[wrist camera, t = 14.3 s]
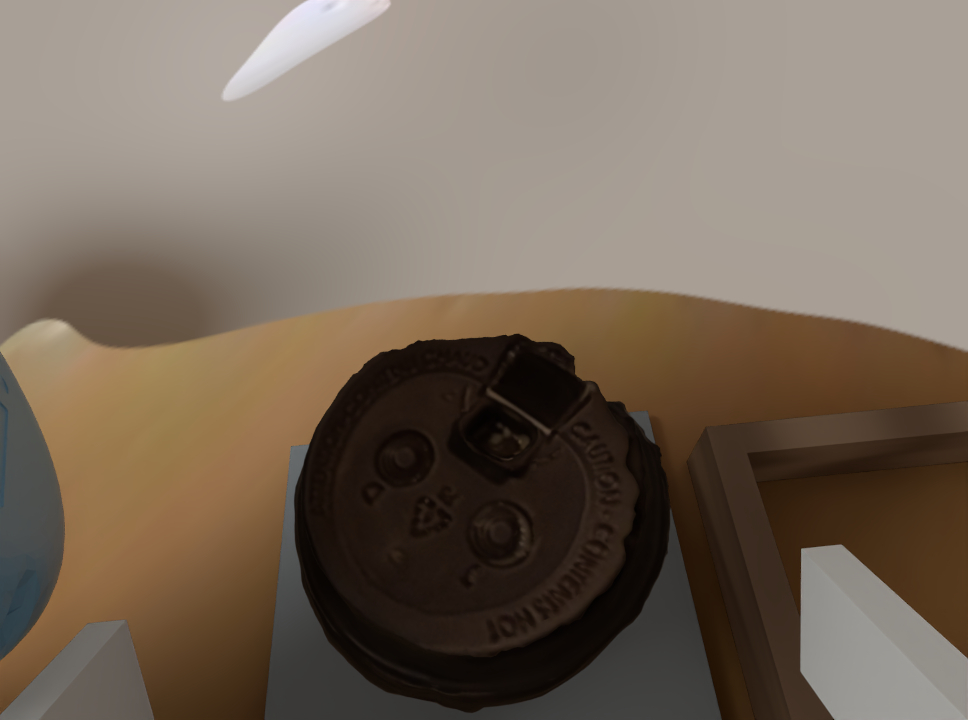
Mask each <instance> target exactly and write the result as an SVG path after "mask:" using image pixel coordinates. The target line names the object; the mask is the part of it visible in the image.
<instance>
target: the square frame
mask: <svg viewBox="0 0 968 720" xmlns="http://www.w3.org/2000/svg"><path fill="white" fill-rule="evenodd" d="M958 462H968V401H962V402H952V403H942V404H931V405H921V406H911V407H901V408H891V409H881V410H871V411H861V412H851V413H841V414H831V415H821V416H811V417H801V418H791V419H780V420H770V421H760V422H750V423H740V424H730V425H720V426H710V427H706V428H705V430H704V431H703V433H702V435H701V437H700V439H699V440H698V442H697V444H696V446H695V448H694V449H693V451H692V453H691V455H690V457H689V459H688V460H687V464H688V467H689V471H690V475H691V479H692V483H693V486H694V490H695V494H696V498H697V501H698V505H699V509H700V513H701V517H702V520H703V524H704V528H705V532H706V535H707V539H708V543H709V547H710V550H711V554H712V558H713V562H714V566H715V569H716V573H717V577H718V581H719V584H720V588H721V592H722V596H723V599H724V603H725V607H726V611H727V615H728V618H729V622H730V626H731V630H732V633H733V637H734V641H735V645H736V649H737V652H738V656H739V660H740V664H741V667H742V671H743V675H744V679H745V682H746V686H747V690H748V694H749V698H750V701H751V705H752V709H753V713H754V716H755V720H833V718H832V715H831V714H830V713H829V711H828V710H827V708H826V707H825V705H824V704H823V703H822V701H821V700H820V698H819V697H818V696H817V694H816V693H815V691H814V690H813V688H812V687H811V686H810V684H809V683H808V681H807V680H806V679H805V677H804V676H803V674H802V673H801V672H800V654H801V619H800V616H799V613H798V610H797V607H796V604H795V601H794V598H793V594H792V591H791V588H790V585H789V582H788V579H787V576H786V573H785V570H784V567H783V563H782V560H781V557H780V554H779V551H778V548H777V545H776V542H775V539H774V535H773V532H772V529H771V526H770V523H769V520H768V517H767V514H766V511H765V508H764V504H763V501H762V498H761V495H760V492H759V489H758V486H757V483H756V482H762V481H772V480H783V479H793V478H803V477H813V476H824V475H834V474H844V473H855V472H865V471H875V470H886V469H896V468H906V467H917V466H927V465H937V464H947V463H958Z"/></svg>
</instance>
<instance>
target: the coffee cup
mask: <svg viewBox="0 0 968 720" xmlns="http://www.w3.org/2000/svg"><path fill="white" fill-rule="evenodd" d="M574 360H575V358H574V356H572V355H571V354H569V352H568V351H567V350H566V349H565V348H564V347H562V346H561V345H560V344H557V343H553V342H535V341H532V340H530V339H529V338H527V337H525V336H523V335H520V334H514V335H511V336H507V335H502V336H497V337H482V338H467V339H458V340H435V339H433V340H426V341H420V340H418V341H416V342H415V343H413V344H410V345H408V346H407V347H406V348H404V349H401V350H397V349H394V350H390V351H388V352H381V353H379V354H378V355H376V356H375V357H373V358H372V359H371V360H369V361H368V362H367V363H365V364H364V366H363V368H362V369H361V370H360V371H359V372H358V373H356V374H353V375H352V377H351V378H350V379H349V380H348V382H347V383H346V384H345V385H344V387H343V388H342V389H341V390H340V391H339V393H338V394H337V396H336V398H335V400H334V401H333V403H332V404H331V406H330V407H329V408H328V410H327V411H326V413H325V414H324V416H323V418H322V419H321V421H320V422H319V424H318V426H317V427H316V429H315V432H314V434H313V437H312V439H311V442H310V445H309V447H308V450H307V453H306V456H305V459H304V464H303V467H302V470H301V473H300V476H299V478H298V481H297V484H296V487H295V494H294V511H295V523H294V532H295V546H296V551H297V555H298V559H299V563H300V569H301V581H302V585H303V588H304V591H305V593H306V596H307V598H308V600H309V603H310V606H311V607H312V609H313V611H314V614H315V616H316V618H317V620H318V621H319V623H320V625H321V627H322V629H323V632H324V634H325V636H326V638H327V640H328V642H329V643H330V644H331V645H332V646H333V647H334V648H335V649H336V650H337V651H338V652H339V653H340V654H341V655H342V656H343V657H344V658H345V659H346V661H347V662H348V663H349V664H350V665H351V666H352V667H354V668H355V669H356V670H357V671H358V672H359V673H360V674H361V675H362V676H363V677H364V678H365V679H366V680H367V681H369V682H370V683H372V684H373V685H375V686H377V687H378V688H380V689H382V690H383V691H385V692H387V693H390V694H395V695H401V696H405V697H409V698H415V699H419V700H424V701H429V702H433V703H437V704H439V705H440V706H442V707H446V708H451V709H457V710H460V711H463V712H466V713H474V712H477V711H479V710H481V709H482V708H484V707H496V706H503V705H511V704H516V703H520V702H524V701H528V700H532V699H535V698H538V697H542V696H544V695H545V694H547V693H549V692H550V691H552V690H554V689H556V688H557V687H559V686H560V685H562V684H564V683H565V682H567V681H568V680H570V679H571V678H573V677H574V676H576V675H577V674H578V673H580V672H581V671H582V670H584V669H585V668H586V667H587V666H589V665H590V664H591V663H592V662H593V661H594V660H595V659H596V658H597V657H598V656H599V655H600V653H601V652H602V651H603V650H604V649H605V648H606V647H607V646H608V645H609V644H610V643H611V642H612V641H613V640H614V639H615V637H616V636H617V635H618V634H619V633H621V632H622V631H623V630H624V629H625V628H626V627H628V626H629V625H630V624H632V623H633V622H634V621H635V619H636V618H637V617H638V616H639V615H640V613H641V612H642V609H643V606H644V604H645V602H646V600H647V599H648V597H649V595H650V593H651V590H652V588H653V586H654V584H655V582H656V580H657V579H658V577H659V575H660V572H661V570H662V567H663V563H664V560H665V557H666V555H667V554H668V542H669V531H670V509H671V506H670V500H669V495H668V482H667V478H666V474H665V472H664V470H663V468H662V466H661V459H660V457H661V456H662V455H661V453H660V448H659V447H658V446H657V445H656V444H654V443H653V442H651V441H650V440H649V439H648V438H647V437H646V435H645V431H644V429H643V428H642V427H640V426H639V424H638V423H637V422H636V421H635V420H634V418H632V416H631V415H630V414H629V413H628V412H627V411H626V408H625V405H624V404H623V403H622V402H620V401H618V402H606V400H605V398H604V397H603V395H602V394H601V392H600V389H599V387H598V385H597V384H596V383H595V382H593V381H582V380H581V379H580V378H578V377H577V376H576V375H575V365H574Z"/></svg>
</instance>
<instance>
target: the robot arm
mask: <svg viewBox="0 0 968 720" xmlns="http://www.w3.org/2000/svg"><path fill="white" fill-rule="evenodd" d="M64 535H65V522H64V511H63V504H62V498H61V492H60V487H59V482H58V479H57V475H56V471H55V468H54V465H53V462H52V459H51V456H50V453H49V450H48V447H47V444H46V442H45V439H44V436H43V434H42V431H41V429H40V427H39V425H38V422H37V420H36V418H35V416H34V414H33V411H32V409H31V407H30V405H29V403H28V401H27V399H26V397H25V395H24V393H23V391H22V390H21V388H20V386H19V384H18V382H17V380H16V378H15V376H14V374H13V373H12V371H11V369H10V367H9V366H8V364H7V362H6V360H5V358H4V357H3V355H2V354H1V352H0V660H1V659H2V658H4V657H5V656H6V655H7V654H8V653H9V652H11V651H12V650H13V649H14V647H15V646H16V645H17V644H18V643H19V642H20V641H21V640H22V639H23V638H24V637H25V636H26V635H27V633H28V632H29V631H30V630H31V628H32V627H33V626H34V625H35V623H36V622H37V620H38V619H39V617H40V616H41V614H42V612H43V611H44V609H45V607H46V605H47V603H48V601H49V599H50V597H51V595H52V592H53V590H54V588H55V585H56V583H57V580H58V576H59V572H60V569H61V565H62V560H63V551H64ZM800 672H801V673H802V674H803V676H804V677H805V679H806V680H807V681H808V683H809V684H810V686H811V687H812V688H813V690H814V691H815V693H816V694H817V696H818V697H819V698H820V700H821V701H822V703H823V704H824V705H825V707H826V708H827V710H828V711H829V713H830V714H831V715H832V717H833V718H834V720H968V658H966V657H965V656H964V655H963V654H962V653H961V652H960V651H959V650H958V649H956V648H955V647H954V646H953V645H952V644H951V643H950V642H949V641H948V640H947V639H945V638H944V637H943V636H942V635H941V634H940V633H939V632H938V631H937V630H935V629H934V628H933V627H932V626H931V625H930V624H929V623H928V622H927V621H926V620H924V619H923V618H922V617H921V616H920V615H919V614H918V613H917V612H916V611H914V610H913V609H912V608H911V607H910V606H909V605H908V604H907V603H906V602H905V601H903V600H902V599H901V598H900V597H899V596H898V595H897V594H896V593H895V592H894V591H892V590H891V589H890V588H889V587H888V586H887V585H886V584H885V583H884V582H882V581H881V580H880V579H879V578H878V577H877V576H876V575H875V574H874V573H873V572H871V571H870V570H869V569H868V568H867V567H866V566H865V565H864V564H863V563H861V562H860V561H859V560H858V559H857V558H856V557H855V556H854V555H853V554H852V553H850V552H849V551H848V550H847V549H846V548H845V547H844V546H843V545H842V544H841V545H831V546H822V547H812V548H803V549H801V654H800ZM0 720H154V716H153V713H152V709H151V705H150V702H149V698H148V695H147V691H146V688H145V684H144V681H143V677H142V673H141V670H140V666H139V663H138V659H137V656H136V652H135V649H134V645H133V641H132V638H131V634H130V631H129V627H128V624H127V620H116V621H107V622H97V623H88V624H87V625H86V626H85V627H84V628H83V629H82V630H81V631H80V632H79V633H78V634H77V635H76V636H75V637H74V638H73V639H72V640H71V641H70V643H69V644H68V645H67V646H66V647H65V648H64V649H63V650H62V651H61V652H60V653H59V654H58V655H57V656H56V657H55V658H54V659H53V660H52V661H51V662H50V663H49V664H48V665H47V666H46V668H45V669H44V670H43V671H42V672H41V673H40V674H39V675H38V676H37V677H36V678H35V679H34V680H33V681H32V682H31V683H30V684H29V685H28V686H27V687H26V688H25V689H24V690H23V691H22V693H21V694H20V695H19V696H18V697H17V698H16V699H15V700H14V701H13V702H12V703H11V704H10V705H9V706H8V707H7V708H6V709H5V710H4V711H3V712H2V713H1V714H0Z"/></svg>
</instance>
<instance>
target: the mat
mask: <svg viewBox="0 0 968 720" xmlns="http://www.w3.org/2000/svg"><path fill="white" fill-rule="evenodd" d="M629 414H630V415H631V416H632V418H634V420H635V421H636V422H637V423H638V424H639V426H640V427H642V428H643V429H644V431H645V435H646V437H647V438H648V439H649V440H650V441H651V442H653V443H654V444H655V440H654V436H653V432H652V428H651V423H650V419H649V415H648V411H639V412H629ZM309 445H310V444H309ZM309 445H299V446H291V451H290V462H289V472H288V482H287V492H286V503H285V513H284V523H283V533H282V544H281V554H280V564H279V574H278V585H277V595H276V605H275V615H274V626H273V636H272V646H271V656H270V667H269V677H268V687H267V697H266V707H265V718H264V720H722V719H721V715H720V711H719V706H718V702H717V698H716V694H715V690H714V686H713V681H712V677H711V673H710V669H709V665H708V661H707V656H706V652H705V648H704V644H703V640H702V636H701V632H700V627H699V623H698V619H697V615H696V611H695V607H694V602H693V598H692V594H691V590H690V586H689V582H688V577H687V573H686V569H685V565H684V561H683V557H682V552H681V548H680V544H679V540H678V536H677V532H676V527H675V523H674V519H673V515H672V511H671V509H670V531H669V542H668V554H667V555H666V557H665V560H664V563H663V567H662V570H661V572H660V575H659V577H658V579H657V580H656V582H655V584H654V586H653V588H652V590H651V593H650V595H649V597H648V599H647V600H646V602H645V604H644V606H643V609H642V612H641V613H640V615H639V616H638V617H637V618H636V619H635V621H634V622H633V623H632V624H630V625H629V626H628V627H626V628H625V629H624V630H623V631H622V632H621V633H619V634H618V635H617V636H616V637H615V639H614V640H613V641H612V642H611V643H610V644H609V645H608V646H607V647H606V648H605V649H604V650H603V651H602V652H601V653H600V655H599V656H598V657H597V658H596V659H595V660H594V661H593V662H592V663H591V664H590V665H589V666H587V667H586V668H585V669H584V670H582V671H581V672H580V673H578V674H577V675H576V676H574V677H573V678H571V679H570V680H568V681H567V682H565V683H564V684H562V685H560V686H559V687H557V688H556V689H554V690H552V691H550V692H549V693H547V694H545V695H544V696H542V697H538V698H535V699H532V700H528V701H524V702H520V703H516V704H511V705H503V706H496V707H484V708H482V709H481V710H479V711H477V712H474V713H466V712H463V711H460V710H457V709H451V708H446V707H442V706H440V705H439V704H437V703H433V702H429V701H424V700H419V699H415V698H409V697H405V696H401V695H395V694H390V693H387V692H385V691H383V690H382V689H380V688H378V687H377V686H375V685H373V684H372V683H370V682H369V681H367V680H366V679H365V678H364V677H363V676H362V675H361V674H360V673H359V672H358V671H357V670H356V669H355V668H354V667H352V666H351V665H350V664H349V663H348V662H347V661H346V659H345V658H344V657H343V656H342V655H341V654H340V653H339V652H338V651H337V650H336V649H335V648H334V647H333V646H332V645H331V644H330V643H329V642H328V640H327V638H326V636H325V634H324V632H323V629H322V627H321V625H320V623H319V621H318V620H317V618H316V616H315V614H314V611H313V609H312V607H311V606H310V603H309V600H308V598H307V596H306V593H305V591H304V588H303V585H302V581H301V569H300V563H299V559H298V555H297V551H296V546H295V532H294V523H295V511H294V494H295V487H296V484H297V481H298V478H299V476H300V473H301V470H302V467H303V464H304V459H305V456H306V453H307V450H308V447H309Z"/></svg>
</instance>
